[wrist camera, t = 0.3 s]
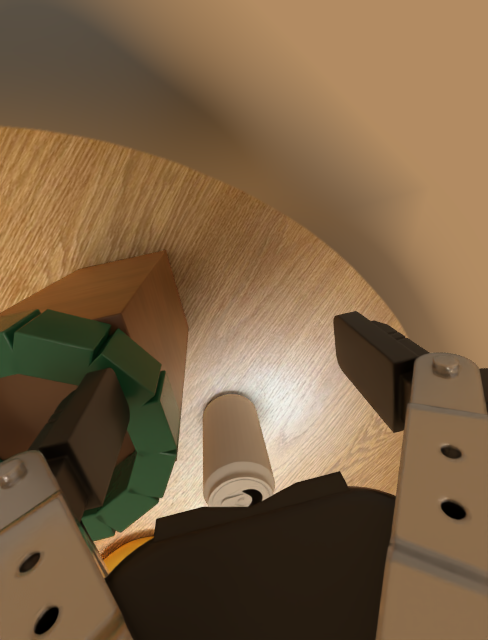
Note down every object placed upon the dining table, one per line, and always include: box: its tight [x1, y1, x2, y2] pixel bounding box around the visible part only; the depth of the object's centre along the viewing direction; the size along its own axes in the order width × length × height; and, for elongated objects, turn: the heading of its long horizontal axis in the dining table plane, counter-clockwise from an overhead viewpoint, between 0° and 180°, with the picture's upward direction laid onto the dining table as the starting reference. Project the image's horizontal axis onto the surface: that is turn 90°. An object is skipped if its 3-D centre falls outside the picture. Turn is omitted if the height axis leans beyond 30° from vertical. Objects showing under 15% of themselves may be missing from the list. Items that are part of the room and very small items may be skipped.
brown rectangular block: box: [0, 250, 189, 467], centre depth 22 cm, size 8×8×18 cm
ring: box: [0, 309, 180, 541], centre depth 13 cm, size 10×10×2 cm
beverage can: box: [203, 394, 275, 507], centre depth 32 cm, size 6×6×12 cm
